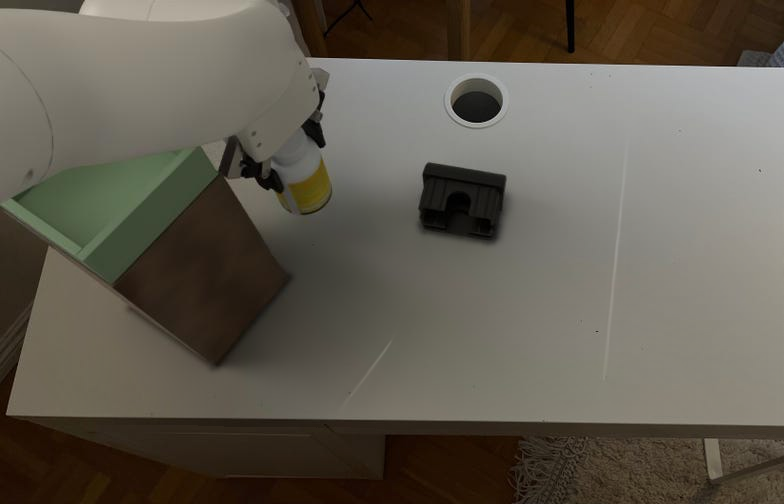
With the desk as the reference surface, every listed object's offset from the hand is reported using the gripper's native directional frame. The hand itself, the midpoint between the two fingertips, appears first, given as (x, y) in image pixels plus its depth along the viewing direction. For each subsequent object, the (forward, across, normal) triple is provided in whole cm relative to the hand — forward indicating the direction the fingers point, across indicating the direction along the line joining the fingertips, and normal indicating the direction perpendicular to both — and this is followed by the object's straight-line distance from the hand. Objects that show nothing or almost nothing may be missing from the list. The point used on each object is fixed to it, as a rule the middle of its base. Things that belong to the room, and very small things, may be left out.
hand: (293, 162), depth 73 cm
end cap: (+11, -11, +16) cm, 22 cm away
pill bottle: (+7, 0, 0) cm, 7 cm away
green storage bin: (-13, +16, -3) cm, 20 cm away
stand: (+11, +15, -3) cm, 19 cm away
